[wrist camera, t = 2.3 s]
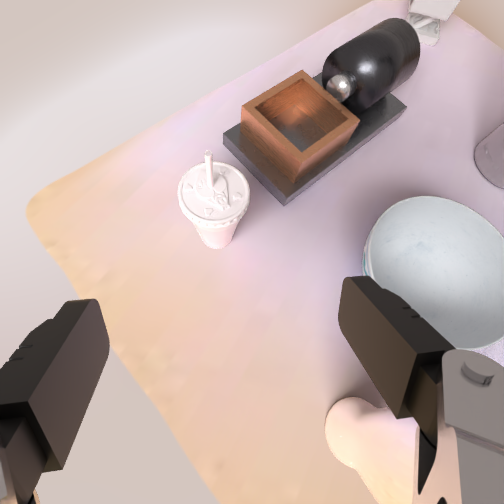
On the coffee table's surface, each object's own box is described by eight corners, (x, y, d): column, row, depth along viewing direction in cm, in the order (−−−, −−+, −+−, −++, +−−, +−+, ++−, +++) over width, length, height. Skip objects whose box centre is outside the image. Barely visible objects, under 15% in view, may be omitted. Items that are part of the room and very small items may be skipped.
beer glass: (353, 376, 30) (465, 395, 16) (402, 435, 29) (572, 511, 15) (305, 426, 28) (385, 495, 14) (355, 491, 27) (499, 640, 13)
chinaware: (481, 281, 35) (547, 262, 28) (422, 382, 31) (484, 390, 24) (380, 205, 38) (418, 169, 31) (312, 288, 33) (337, 269, 26)
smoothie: (225, 201, 36) (225, 112, 23) (254, 242, 34) (272, 172, 21) (179, 226, 34) (151, 145, 21) (207, 270, 33) (196, 212, 20)
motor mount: (341, 69, 46) (371, -5, 36) (399, 117, 43) (447, 51, 34) (223, 144, 39) (222, 76, 29) (283, 206, 36) (304, 154, 27)
